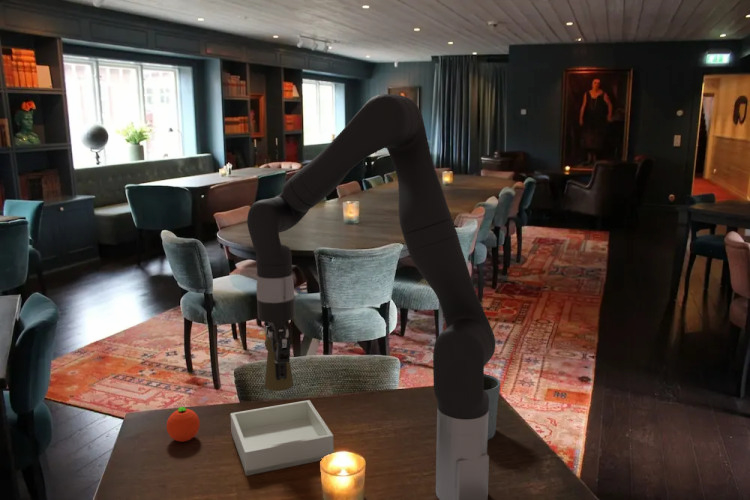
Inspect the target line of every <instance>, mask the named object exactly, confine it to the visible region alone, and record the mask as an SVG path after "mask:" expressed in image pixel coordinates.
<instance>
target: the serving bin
mask: <svg viewBox="0 0 750 500" xmlns="http://www.w3.org/2000/svg"><path fill="white" fill-rule="evenodd" d="M230 427H231V428H230V429H231V436H232V439H233V442H234V445H235V448H236V451H237V453H238V455H239V460H240V463H241V465H242V467H243V470H244V473H245V476H246V477H247V476H251V475H257V474H262V473H267V472H272V471H276V470H281V469H286V468H291V467H294V466H295V467H296V466H300V465H301V466H302V465H306V464H310V463H316V462H319V461H320V459H321V458H323V457H324V456H326V455H328V454H331V453H334V448H335V447H334V434H333V433H332V431H331V430H330V428H329V427H328V425H327V423H326V422H325V421H324V419H323V418H322V417H321V415H320V414H319V412H318V410H317V409H316V408H315V406H314V405H313V403H312V402H311V400H310V399H307V400H302V401H296V402H290V403H284V404H279V405H271V406H267V407H266V406H265V407H260V408H254V409H249V410H243V411H235V412H231V413H230Z"/></svg>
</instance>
